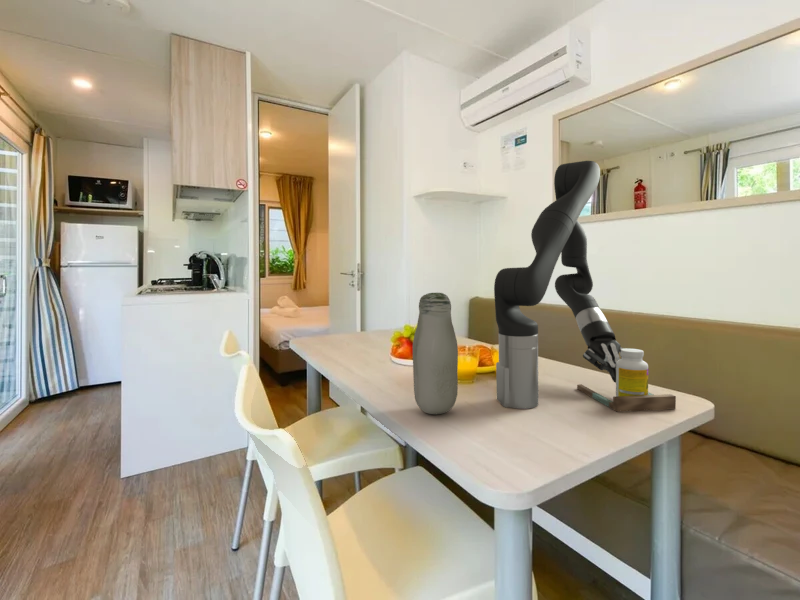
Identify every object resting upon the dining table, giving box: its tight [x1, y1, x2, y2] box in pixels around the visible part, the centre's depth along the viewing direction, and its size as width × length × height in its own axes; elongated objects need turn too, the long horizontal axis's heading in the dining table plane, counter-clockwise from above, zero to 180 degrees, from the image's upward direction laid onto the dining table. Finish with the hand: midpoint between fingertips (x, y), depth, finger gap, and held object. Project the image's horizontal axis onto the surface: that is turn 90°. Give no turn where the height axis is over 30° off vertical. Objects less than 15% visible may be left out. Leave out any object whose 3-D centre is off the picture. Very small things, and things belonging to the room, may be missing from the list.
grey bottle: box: [412, 292, 459, 415], centre depth 88 cm, size 10×10×28 cm
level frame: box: [576, 383, 677, 413], centre depth 95 cm, size 14×18×3 cm
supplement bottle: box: [615, 347, 649, 397], centre depth 91 cm, size 7×7×13 cm
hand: (621, 382), depth 95 cm, fingers closed
